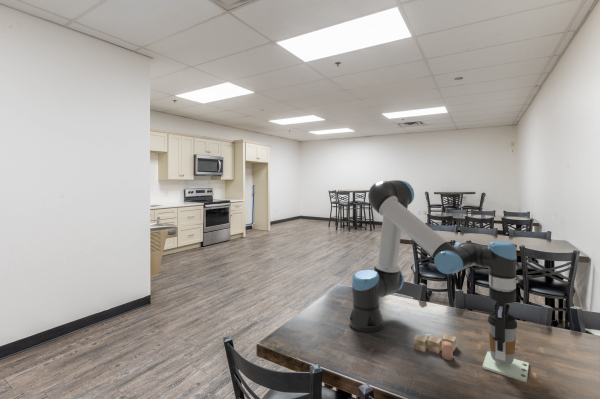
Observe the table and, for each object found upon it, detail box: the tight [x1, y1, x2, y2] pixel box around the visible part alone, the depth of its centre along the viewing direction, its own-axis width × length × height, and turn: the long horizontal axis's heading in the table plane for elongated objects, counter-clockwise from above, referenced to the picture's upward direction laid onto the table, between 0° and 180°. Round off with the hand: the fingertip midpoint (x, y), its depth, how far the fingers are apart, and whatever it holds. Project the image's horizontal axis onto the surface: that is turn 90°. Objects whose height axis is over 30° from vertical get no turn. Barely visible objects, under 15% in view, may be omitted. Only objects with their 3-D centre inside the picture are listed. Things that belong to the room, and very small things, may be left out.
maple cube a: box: [413, 334, 428, 353], centre depth 115 cm, size 4×4×4 cm
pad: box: [481, 350, 530, 384], centre depth 102 cm, size 12×11×1 cm
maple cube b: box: [427, 336, 442, 354], centre depth 113 cm, size 4×4×4 cm
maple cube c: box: [441, 333, 457, 352], centre depth 114 cm, size 4×4×4 cm
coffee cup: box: [487, 311, 518, 365], centre depth 102 cm, size 8×8×15 cm
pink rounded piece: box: [441, 341, 454, 361], centre depth 108 cm, size 4×4×5 cm
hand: (501, 353), depth 102 cm, fingers closed on coffee cup, 7 cm apart
